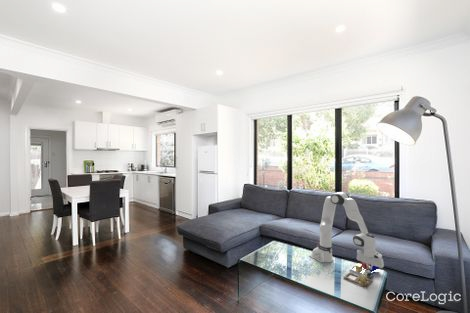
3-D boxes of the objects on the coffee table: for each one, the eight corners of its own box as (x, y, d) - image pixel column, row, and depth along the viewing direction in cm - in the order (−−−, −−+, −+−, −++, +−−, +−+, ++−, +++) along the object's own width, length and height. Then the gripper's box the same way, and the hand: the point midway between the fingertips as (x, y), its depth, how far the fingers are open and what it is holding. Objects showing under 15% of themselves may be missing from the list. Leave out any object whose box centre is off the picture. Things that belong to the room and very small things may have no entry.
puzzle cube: (369, 274, 201) (370, 263, 201) (360, 268, 211) (361, 258, 210) (378, 272, 204) (379, 261, 203) (369, 267, 213) (369, 256, 213)
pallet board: (343, 278, 194) (343, 276, 194) (349, 273, 202) (349, 271, 202) (366, 288, 181) (366, 286, 181) (372, 282, 189) (372, 280, 189)
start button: (366, 273, 196) (366, 271, 196) (367, 272, 198) (367, 270, 198) (370, 275, 194) (370, 272, 194) (371, 274, 196) (371, 271, 196)
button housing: (364, 277, 196) (364, 273, 196) (366, 275, 199) (366, 271, 199) (370, 279, 192) (371, 276, 192) (373, 277, 196) (373, 274, 196)
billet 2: (360, 283, 188) (360, 276, 187) (362, 280, 191) (362, 273, 191) (364, 285, 185) (364, 277, 185) (366, 282, 188) (367, 275, 188)
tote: (349, 271, 206) (349, 269, 206) (353, 267, 212) (353, 265, 212) (363, 276, 197) (363, 274, 197) (367, 272, 203) (367, 270, 203)
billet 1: (355, 271, 204) (355, 265, 204) (357, 269, 207) (357, 263, 207) (359, 273, 201) (359, 266, 201) (361, 271, 205) (362, 264, 204)
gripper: (355, 250, 201) (355, 265, 201) (382, 258, 185) (382, 274, 186) (358, 248, 205) (358, 263, 205) (384, 255, 190) (384, 271, 190)
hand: (369, 268), depth 195 cm, fingers closed
